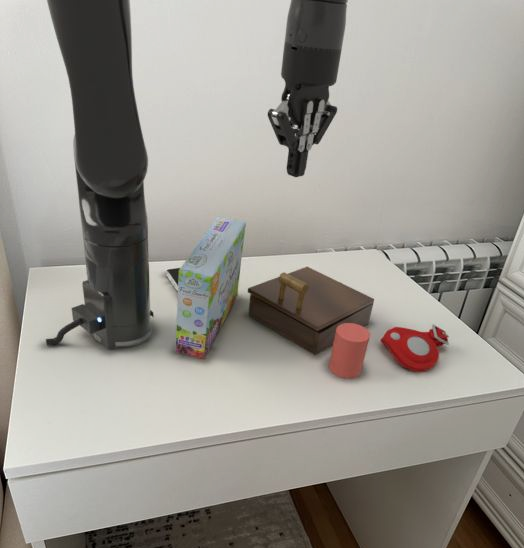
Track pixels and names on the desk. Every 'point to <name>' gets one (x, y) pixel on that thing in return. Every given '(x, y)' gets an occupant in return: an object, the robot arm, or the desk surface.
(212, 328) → the snack box
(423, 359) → the red rounded piece
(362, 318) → the chest
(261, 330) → the desk surface
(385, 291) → the desk surface
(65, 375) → the desk surface
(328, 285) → the lid
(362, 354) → the pink cylinder
